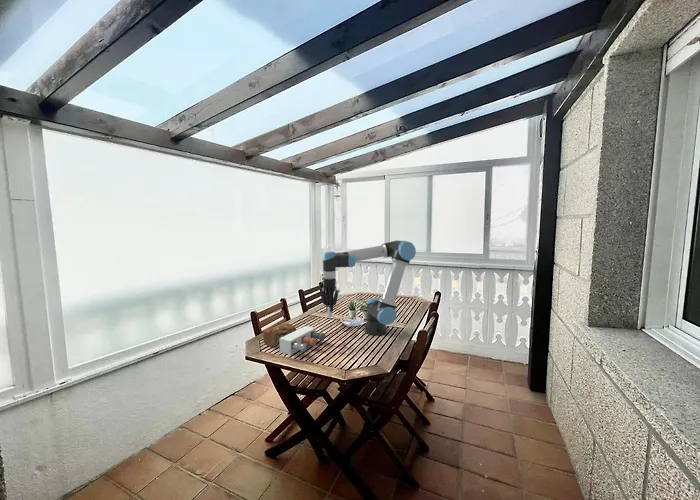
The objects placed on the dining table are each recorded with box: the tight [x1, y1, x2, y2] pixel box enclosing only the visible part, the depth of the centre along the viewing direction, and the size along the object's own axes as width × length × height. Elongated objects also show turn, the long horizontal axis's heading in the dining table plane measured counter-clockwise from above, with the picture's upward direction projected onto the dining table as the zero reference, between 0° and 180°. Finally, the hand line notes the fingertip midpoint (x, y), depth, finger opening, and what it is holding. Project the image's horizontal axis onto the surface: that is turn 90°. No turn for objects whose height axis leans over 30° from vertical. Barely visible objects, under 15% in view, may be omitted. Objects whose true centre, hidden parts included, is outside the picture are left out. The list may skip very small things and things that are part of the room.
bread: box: [262, 323, 297, 348], centre depth 181 cm, size 19×11×10 cm, turn 138°
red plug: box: [301, 337, 317, 347], centre depth 171 cm, size 11×5×5 cm, turn 61°
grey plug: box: [311, 332, 326, 342], centre depth 179 cm, size 11×5×5 cm, turn 61°
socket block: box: [279, 325, 317, 356], centre depth 174 cm, size 8×24×8 cm, turn 150°
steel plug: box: [291, 342, 308, 353], centre depth 163 cm, size 11×5×5 cm, turn 61°
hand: (329, 316), depth 172 cm, fingers closed
